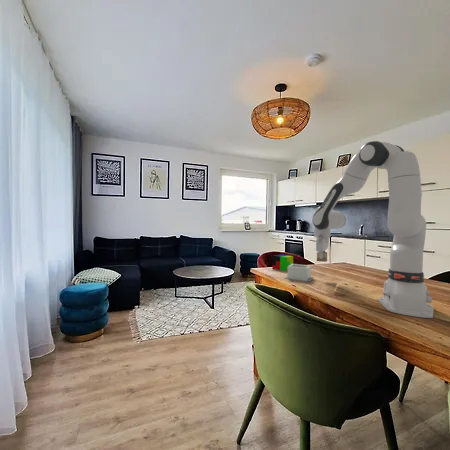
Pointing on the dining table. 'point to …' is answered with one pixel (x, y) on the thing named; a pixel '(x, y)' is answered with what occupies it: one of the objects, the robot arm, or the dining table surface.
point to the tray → (302, 280)
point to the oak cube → (323, 257)
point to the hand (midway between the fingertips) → (322, 258)
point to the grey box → (299, 272)
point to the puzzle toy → (281, 262)
